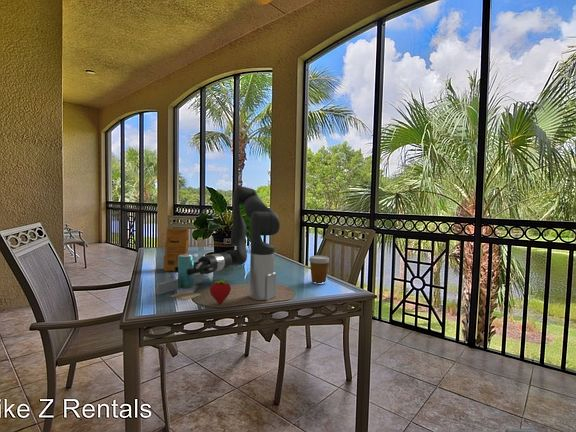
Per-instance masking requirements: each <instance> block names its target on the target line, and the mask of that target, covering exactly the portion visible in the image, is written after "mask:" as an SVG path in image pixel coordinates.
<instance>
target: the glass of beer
mask: <svg viewBox="0 0 576 432" xmlns="http://www.w3.org/2000/svg"><path fill="white" fill-rule="evenodd" d="M308 260H309V265H310V275H311V276H310V277H311V283H312V282H316V283H322V282H325V281H327V275H328V268H329V263H330V258H329V257H328V256H327V255H326V256H325V255H311V256H310V257H309V259H308Z"/></svg>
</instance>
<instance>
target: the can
mask: <svg viewBox="0 0 576 432" xmlns="http://www.w3.org/2000/svg"><path fill="white" fill-rule="evenodd" d="M194 261H195V255H194V254H192V253H188V254H181V255H179V256H178V273H177V279H178V288H180V289H182V290H188V289H189V290H190V289H193V288H195V284H194V275H195V274H192V275H187V269H190V268H194Z"/></svg>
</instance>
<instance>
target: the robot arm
mask: <svg viewBox="0 0 576 432" xmlns="http://www.w3.org/2000/svg"><path fill="white" fill-rule="evenodd" d="M240 206H243V211H244V213H245V215H246V216H247V217H248V218H249V220H250V221H249V223H250V225H249V226H250V261H249V262H250V266H249V267H250V268H249V298H250V299H252V300H257V301H269V300H272V299H273V298H276V292H277V291H276V290H277V289H276V287H277V286H276V285H277V283H276V281H277V273H276V272H275V246H274V245H273V244H271V243H267V242H265V241H263V239H261V236H274V235H277V234H278V232H279V230H280V228H281V222H280V219H279V218H280V217H279V215H278V214H277V213H276V212H275V211H274V210H272V209H271V208H269V207H268V206H267V205H266V204H265V202H263V200H262V199H260V197H259V195H258V194H257V191H256V189H253V188H251V187H248V186H247V187H246V186H244V185H243V186H242V185H237V186H236V187H235V188H234V191H233V195H232V226H231V235H230V244H231V245H233V246H235V247H236V249H231V250H226V251H224V252H220V253H212V254H207V255H203V256H201V257H199V258H198V260H196V261H195V260H194V268H190V269H187V275H192V274H194V275H195V274H199V273H200V274H202V275H209V274H212V273H216V272H219V271H221V270H224V269H226V268H229V267H230V266H238V265H239V266H240V265H244V264H245V263H246V262H247V259H248V251H247V246H246V245H247V244H246V239H247V238H246V237H247V224H246V222H245V220H244V218H243V216H242V215H243V214H242V212H241V209H240V208H241V207H240ZM173 272H174V273H176V274H178V266H177V267H175V268H174V271H173Z"/></svg>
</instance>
